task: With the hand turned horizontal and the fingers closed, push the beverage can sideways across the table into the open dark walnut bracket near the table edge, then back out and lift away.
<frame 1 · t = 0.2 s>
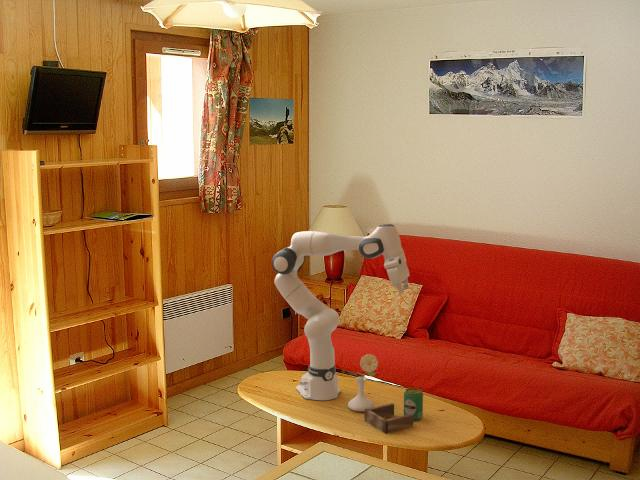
hand: (404, 291, 326), 52 cm above the table, fingers open, 8 cm apart
flower in vase: (362, 409, 332), on the table
beverage can: (413, 418, 322), on the table
walnut bracket: (388, 423, 315), on the table
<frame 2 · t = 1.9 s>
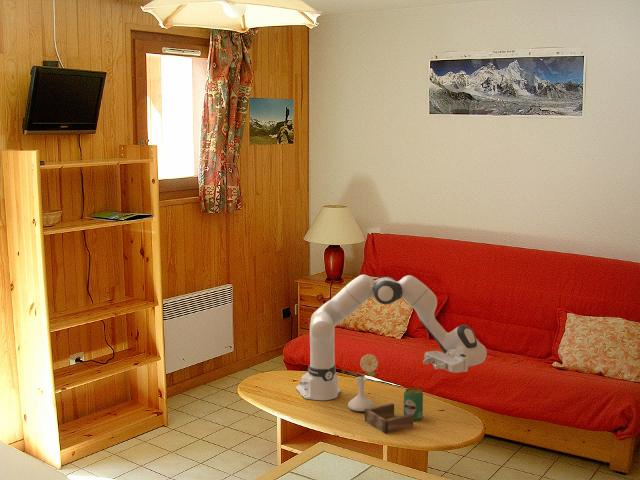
hand: (429, 364, 322), 22 cm above the table, fingers open, 6 cm apart
nothing on the table moved.
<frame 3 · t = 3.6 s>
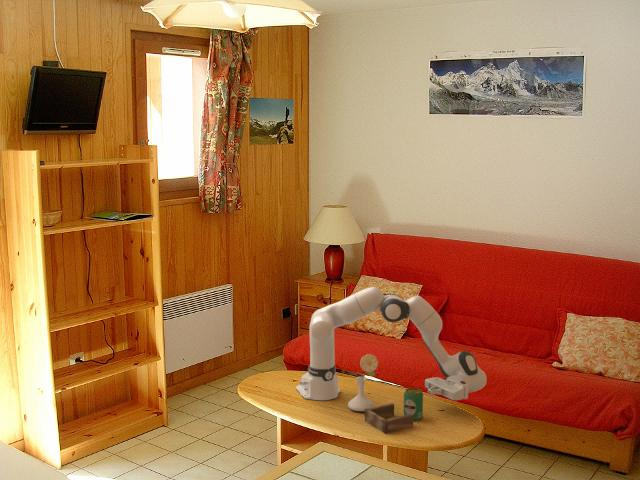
hand: (429, 391, 324), 10 cm above the table, fingers closed
nothing on the table moved.
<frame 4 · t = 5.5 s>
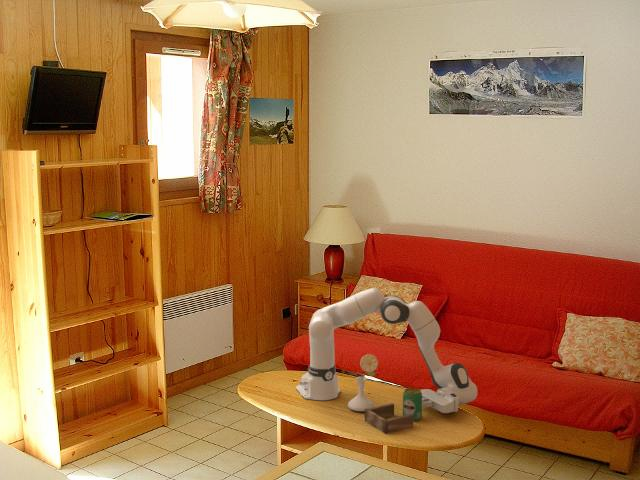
hand: (419, 404, 323), 5 cm above the table, fingers closed, pressing on beverage can
beverage can: (412, 418, 321), on the table, touching gripper
everything else where it was.
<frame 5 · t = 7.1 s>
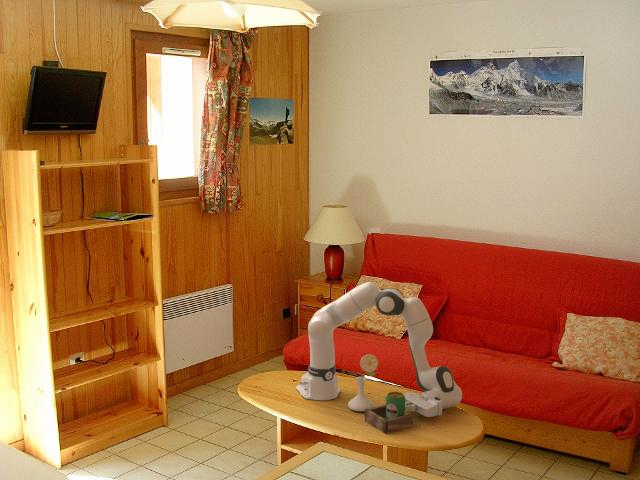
hand: (403, 407, 318), 5 cm above the table, fingers closed, pressing on beverage can
beverage can: (395, 422, 317), on the table, touching gripper
everything else where it was.
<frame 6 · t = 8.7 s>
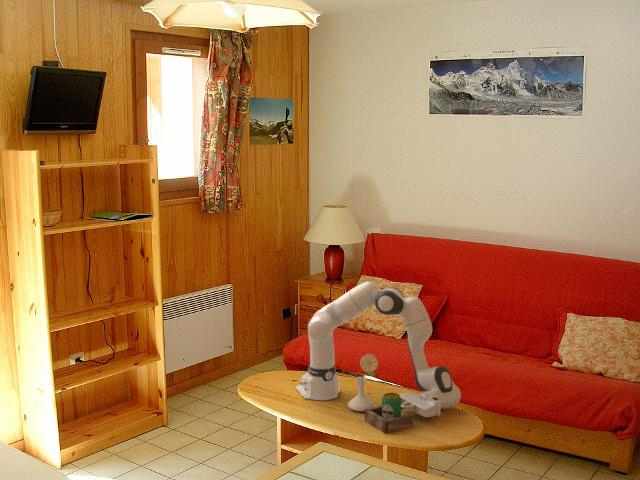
hand: (401, 408, 317), 6 cm above the table, fingers closed
beverage can: (391, 423, 316), on the table
everything else where it was.
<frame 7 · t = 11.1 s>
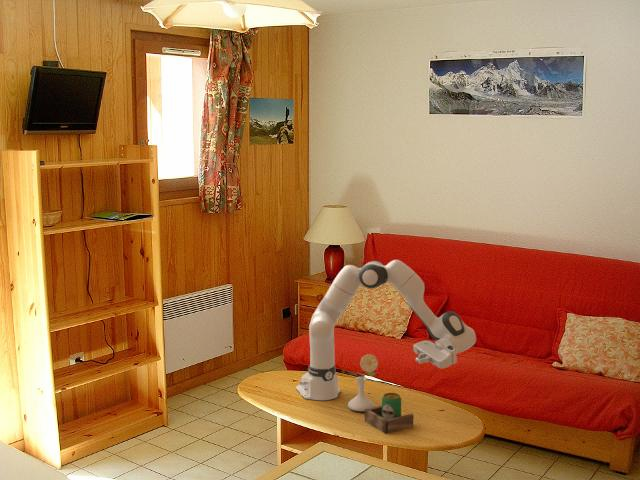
hand: (417, 361, 320), 24 cm above the table, fingers closed
nothing on the table moved.
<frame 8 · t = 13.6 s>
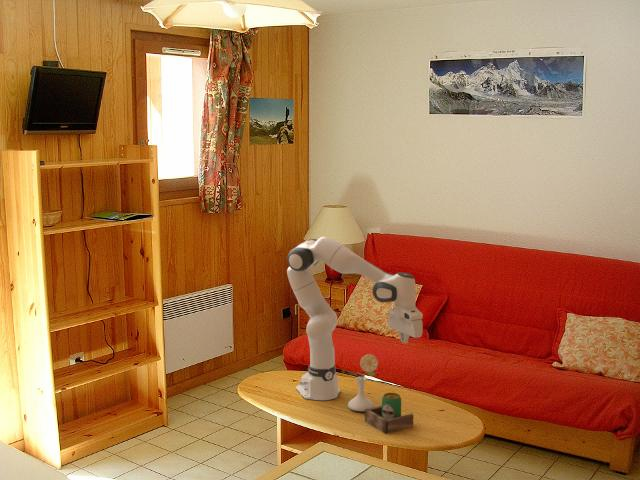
hand: (404, 342, 323), 31 cm above the table, fingers closed
nothing on the table moved.
at the end: beverage can inside the target area (0.2 cm from its centre), on the table; beverage can tilted 0°; beverage can moved 11.3 cm from its start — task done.
